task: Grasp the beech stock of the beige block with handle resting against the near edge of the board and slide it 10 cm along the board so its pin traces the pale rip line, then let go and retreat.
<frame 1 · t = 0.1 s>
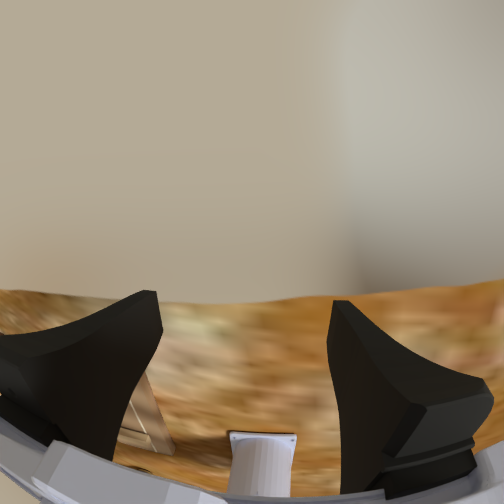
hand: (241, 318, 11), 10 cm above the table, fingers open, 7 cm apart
board: (125, 398, 29), on the table
beige block with handle: (105, 429, 29), point 3 cm above the table, slide at 0.0 cm
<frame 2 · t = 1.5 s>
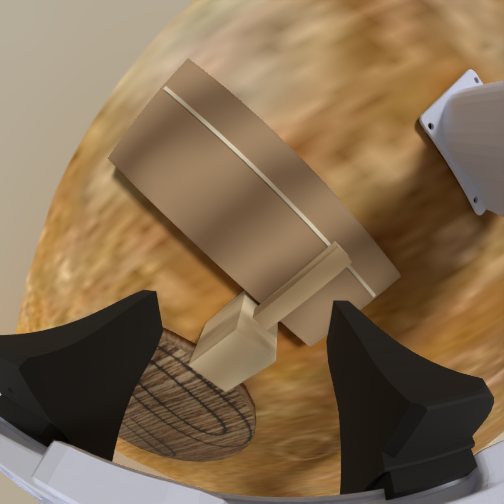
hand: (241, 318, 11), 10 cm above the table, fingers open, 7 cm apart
board: (257, 207, 20), on the table
beige block with handle: (267, 315, 19), point 3 cm above the table, slide at 0.0 cm
trivet: (153, 398, 30), on the table
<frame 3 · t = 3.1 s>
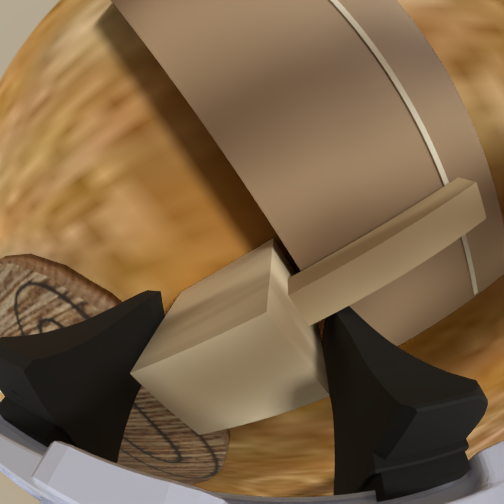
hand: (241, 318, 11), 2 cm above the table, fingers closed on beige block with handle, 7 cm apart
board: (330, 94, 9), on the table
beige block with handle: (318, 295, 9), point 3 cm above the table, slide at 0.0 cm, touching gripper
trivet: (83, 392, 18), on the table
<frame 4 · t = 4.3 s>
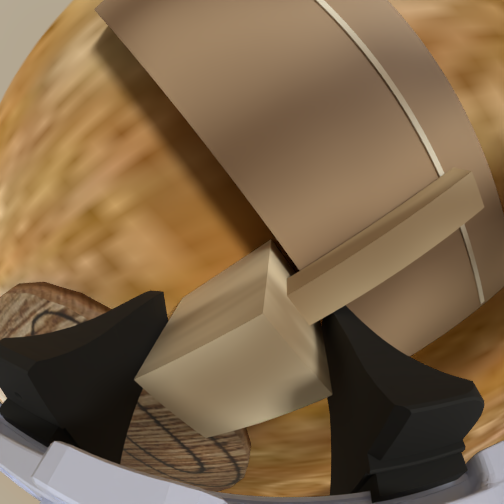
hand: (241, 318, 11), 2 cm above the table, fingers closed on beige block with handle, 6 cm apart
board: (338, 117, 10), on the table
beige block with handle: (317, 294, 9), point 3 cm above the table, slide at 1.3 cm, touching gripper
trivet: (104, 410, 19), on the table
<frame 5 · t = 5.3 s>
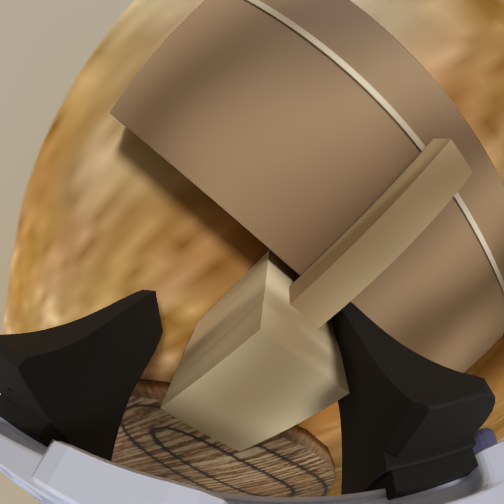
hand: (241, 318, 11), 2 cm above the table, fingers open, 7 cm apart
rubber mallet: (471, 431, 16), on the table
board: (391, 200, 10), on the table
beige block with handle: (320, 296, 9), point 3 cm above the table, slide at 6.0 cm, touching gripper
trivet: (192, 463, 20), on the table
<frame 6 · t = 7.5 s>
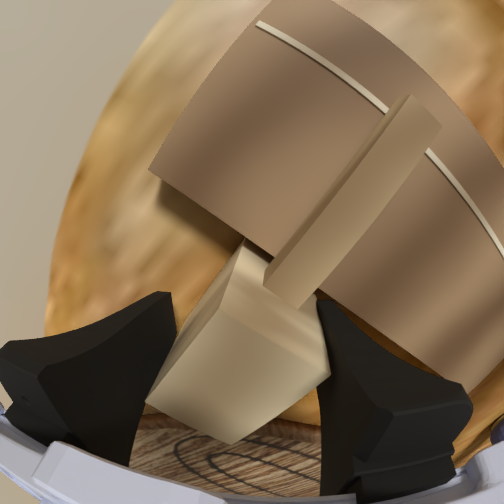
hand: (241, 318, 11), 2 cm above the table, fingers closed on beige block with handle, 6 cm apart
rubber mallet: (500, 418, 16), on the table
board: (426, 230, 11), on the table
beige block with handle: (295, 276, 9), point 3 cm above the table, slide at 9.9 cm, touching gripper
trivet: (243, 478, 20), on the table
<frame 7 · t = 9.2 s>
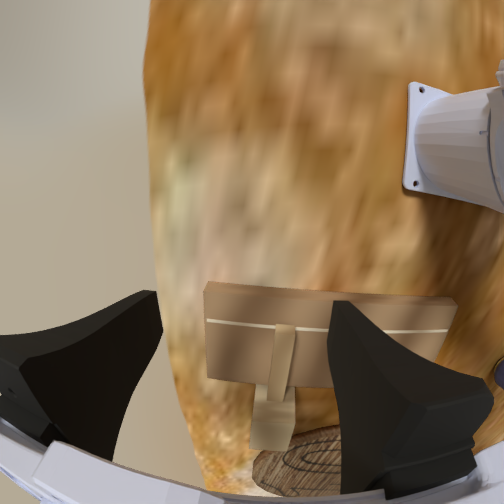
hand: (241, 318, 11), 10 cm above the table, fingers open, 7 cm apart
rubber mallet: (500, 362, 23), on the table
board: (333, 338, 23), on the table
beige block with handle: (275, 393, 22), point 3 cm above the table, slide at 9.9 cm
trivet: (337, 463, 32), on the table
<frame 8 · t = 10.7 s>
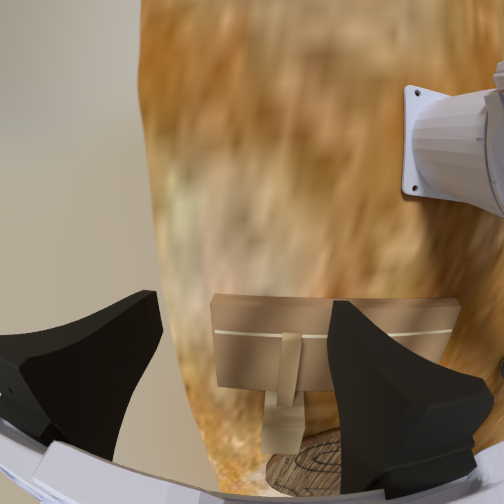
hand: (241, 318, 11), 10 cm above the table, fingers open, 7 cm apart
board: (339, 343, 23), on the table
beige block with handle: (285, 398, 22), point 3 cm above the table, slide at 9.9 cm
trivet: (349, 462, 32), on the table
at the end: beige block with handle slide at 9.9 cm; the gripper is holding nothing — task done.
